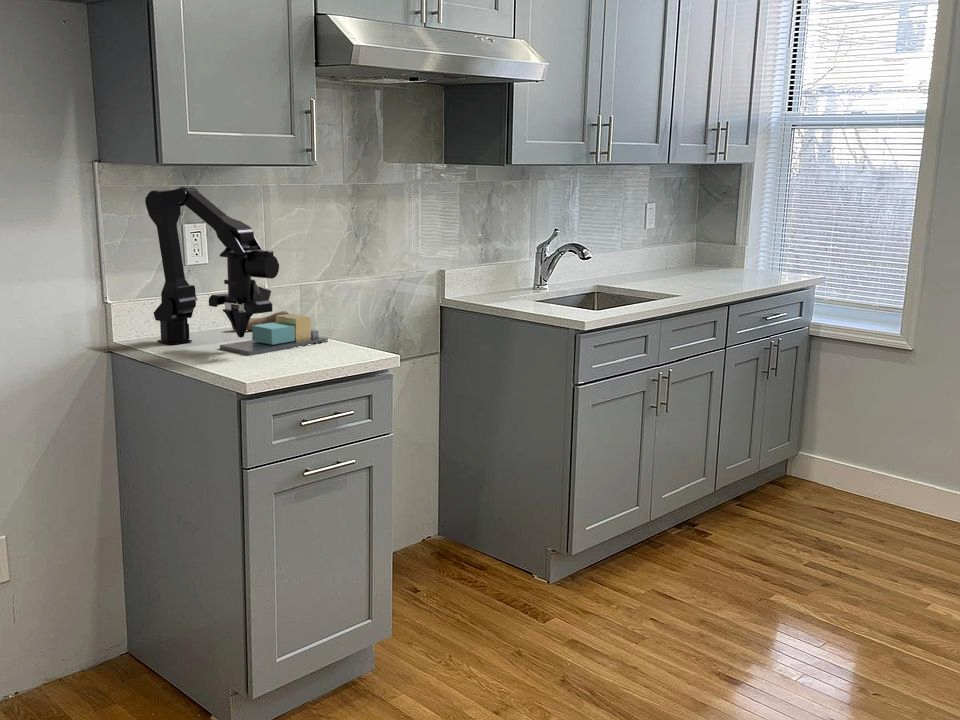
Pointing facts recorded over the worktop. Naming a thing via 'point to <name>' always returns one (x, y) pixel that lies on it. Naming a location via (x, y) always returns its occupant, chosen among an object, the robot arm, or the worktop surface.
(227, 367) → the worktop surface
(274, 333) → the slide jaw
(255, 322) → the pipe
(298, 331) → the brass block
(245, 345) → the vise
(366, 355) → the worktop surface
